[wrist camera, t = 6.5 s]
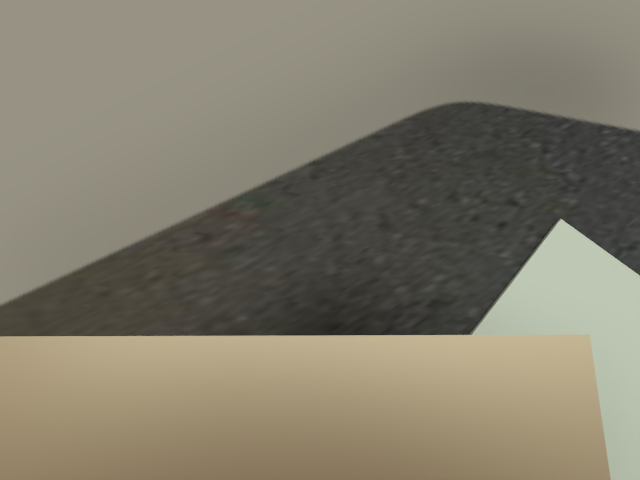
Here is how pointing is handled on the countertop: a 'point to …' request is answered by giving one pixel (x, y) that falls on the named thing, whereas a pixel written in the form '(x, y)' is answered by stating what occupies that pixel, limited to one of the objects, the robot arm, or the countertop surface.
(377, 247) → the countertop surface
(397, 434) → the birch block
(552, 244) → the sage mat
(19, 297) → the countertop surface
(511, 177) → the countertop surface
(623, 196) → the countertop surface
